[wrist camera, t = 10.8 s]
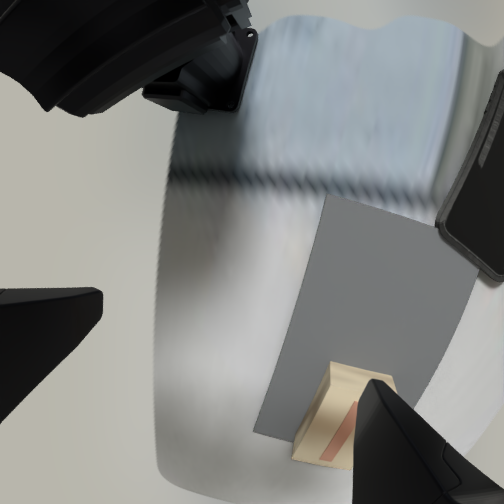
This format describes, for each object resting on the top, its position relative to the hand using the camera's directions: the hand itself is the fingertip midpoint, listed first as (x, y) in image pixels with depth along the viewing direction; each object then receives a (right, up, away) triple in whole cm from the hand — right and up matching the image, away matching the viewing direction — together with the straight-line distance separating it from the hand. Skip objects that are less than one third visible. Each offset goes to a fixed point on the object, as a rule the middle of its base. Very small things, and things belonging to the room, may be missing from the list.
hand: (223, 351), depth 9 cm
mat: (+9, -4, +11) cm, 15 cm away
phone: (+19, +9, +7) cm, 22 cm away
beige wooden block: (+8, -9, +12) cm, 17 cm away
